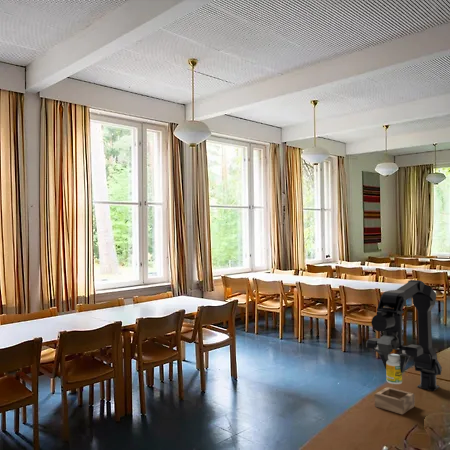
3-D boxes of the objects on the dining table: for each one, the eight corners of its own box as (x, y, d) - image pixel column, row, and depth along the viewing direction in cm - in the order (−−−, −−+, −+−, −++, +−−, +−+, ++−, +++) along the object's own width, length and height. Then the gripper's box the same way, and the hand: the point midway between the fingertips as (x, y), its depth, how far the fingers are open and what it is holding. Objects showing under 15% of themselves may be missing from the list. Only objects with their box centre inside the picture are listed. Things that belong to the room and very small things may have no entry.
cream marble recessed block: (387, 399, 167) (387, 386, 167) (414, 406, 160) (414, 393, 160) (374, 406, 160) (374, 393, 160) (402, 414, 153) (402, 401, 153)
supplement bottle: (392, 378, 164) (392, 352, 164) (405, 382, 160) (405, 355, 160) (383, 381, 161) (382, 354, 161) (396, 385, 157) (395, 358, 157)
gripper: (358, 327, 162) (359, 370, 161) (409, 335, 148) (410, 382, 148) (373, 322, 169) (373, 363, 169) (423, 329, 156) (424, 374, 156)
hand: (394, 370), depth 160 cm, fingers closed on supplement bottle, 5 cm apart
